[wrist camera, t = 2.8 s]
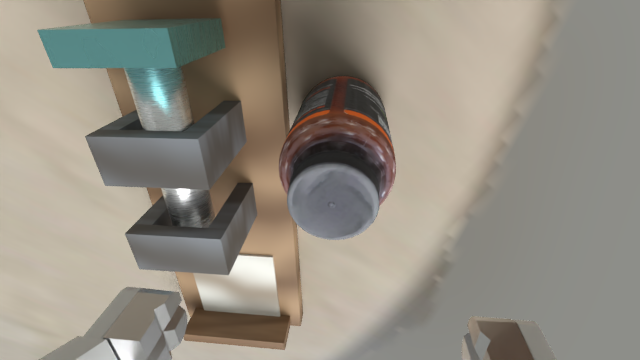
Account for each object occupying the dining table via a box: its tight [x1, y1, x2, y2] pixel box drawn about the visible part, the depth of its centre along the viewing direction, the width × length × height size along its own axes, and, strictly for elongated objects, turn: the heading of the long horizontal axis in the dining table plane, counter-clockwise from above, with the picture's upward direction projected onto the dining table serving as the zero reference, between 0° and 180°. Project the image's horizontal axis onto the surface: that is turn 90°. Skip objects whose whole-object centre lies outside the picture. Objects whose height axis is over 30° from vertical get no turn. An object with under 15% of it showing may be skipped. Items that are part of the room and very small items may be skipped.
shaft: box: [38, 18, 226, 228], centre depth 20 cm, size 15×6×6 cm, turn 1°
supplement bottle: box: [279, 76, 396, 240], centre depth 19 cm, size 6×6×11 cm
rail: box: [83, 0, 303, 350], centre depth 24 cm, size 30×12×8 cm, turn 1°
